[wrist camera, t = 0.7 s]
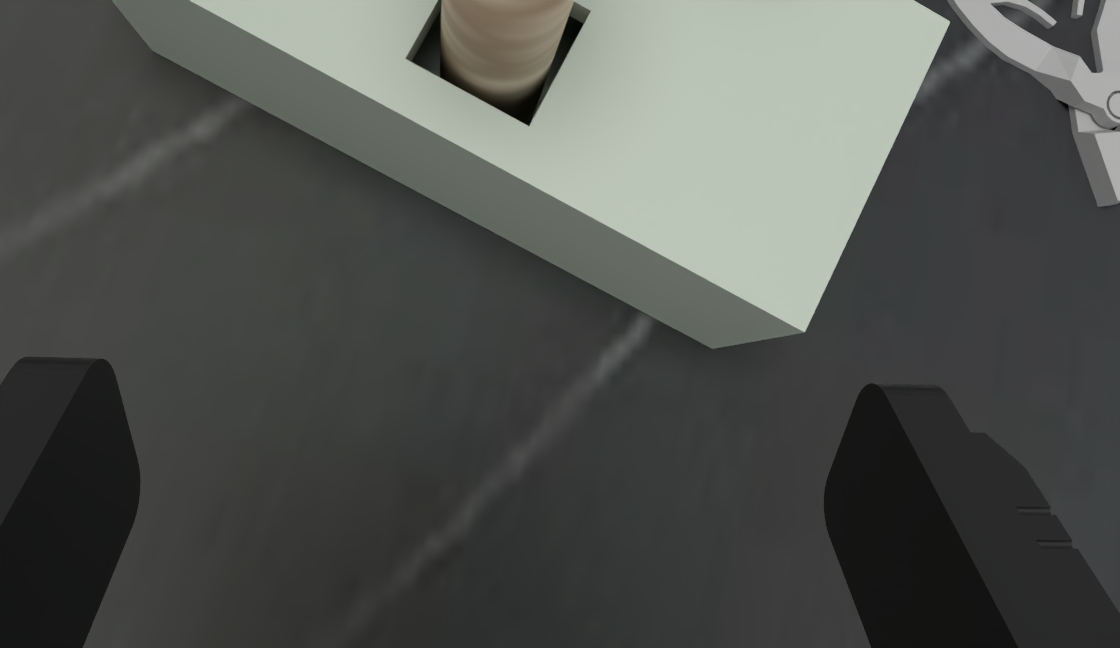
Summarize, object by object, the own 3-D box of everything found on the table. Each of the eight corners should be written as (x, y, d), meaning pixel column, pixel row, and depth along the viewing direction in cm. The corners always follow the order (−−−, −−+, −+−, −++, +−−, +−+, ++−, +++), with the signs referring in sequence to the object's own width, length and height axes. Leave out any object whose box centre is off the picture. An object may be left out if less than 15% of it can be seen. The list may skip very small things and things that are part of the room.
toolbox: (152, 50, 34) (-2, -141, 22) (297, -188, 35) (227, -489, 23) (712, 349, 36) (852, 324, 24) (827, 111, 37) (1013, -24, 25)
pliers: (1116, -173, 39) (1250, 151, 39) (1090, -151, 40) (1218, 160, 40) (918, -108, 37) (1055, 230, 37) (898, -88, 39) (1030, 237, 39)
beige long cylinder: (404, 140, 34) (369, -183, 15) (459, 40, 34) (491, -390, 16) (509, 196, 34) (603, -51, 15) (561, 97, 35) (713, -258, 16)
